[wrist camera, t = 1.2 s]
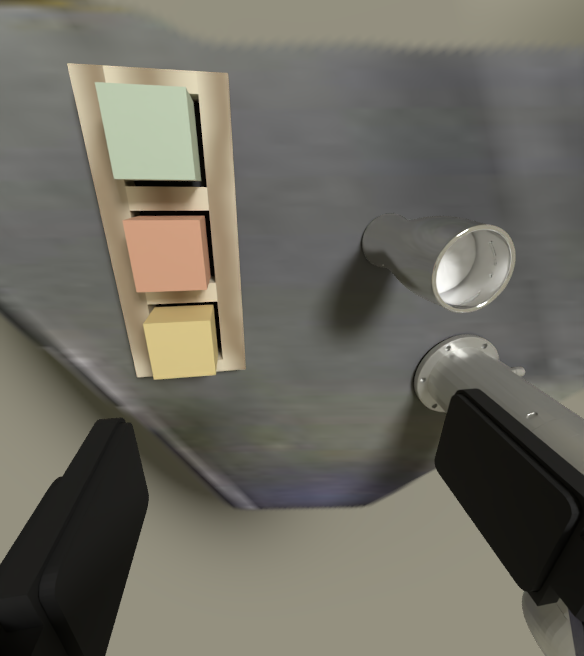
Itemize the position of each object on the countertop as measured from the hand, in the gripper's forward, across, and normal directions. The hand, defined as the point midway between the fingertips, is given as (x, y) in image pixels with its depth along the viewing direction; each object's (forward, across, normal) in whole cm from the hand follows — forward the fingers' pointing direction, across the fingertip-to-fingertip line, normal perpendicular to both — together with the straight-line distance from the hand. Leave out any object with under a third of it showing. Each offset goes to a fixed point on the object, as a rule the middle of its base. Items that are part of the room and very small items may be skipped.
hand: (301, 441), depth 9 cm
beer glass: (+29, -15, -2) cm, 32 cm away
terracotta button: (+26, +8, -1) cm, 27 cm away
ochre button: (+26, +8, +8) cm, 28 cm away
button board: (+28, +8, -1) cm, 29 cm away
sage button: (+26, +8, -10) cm, 29 cm away
